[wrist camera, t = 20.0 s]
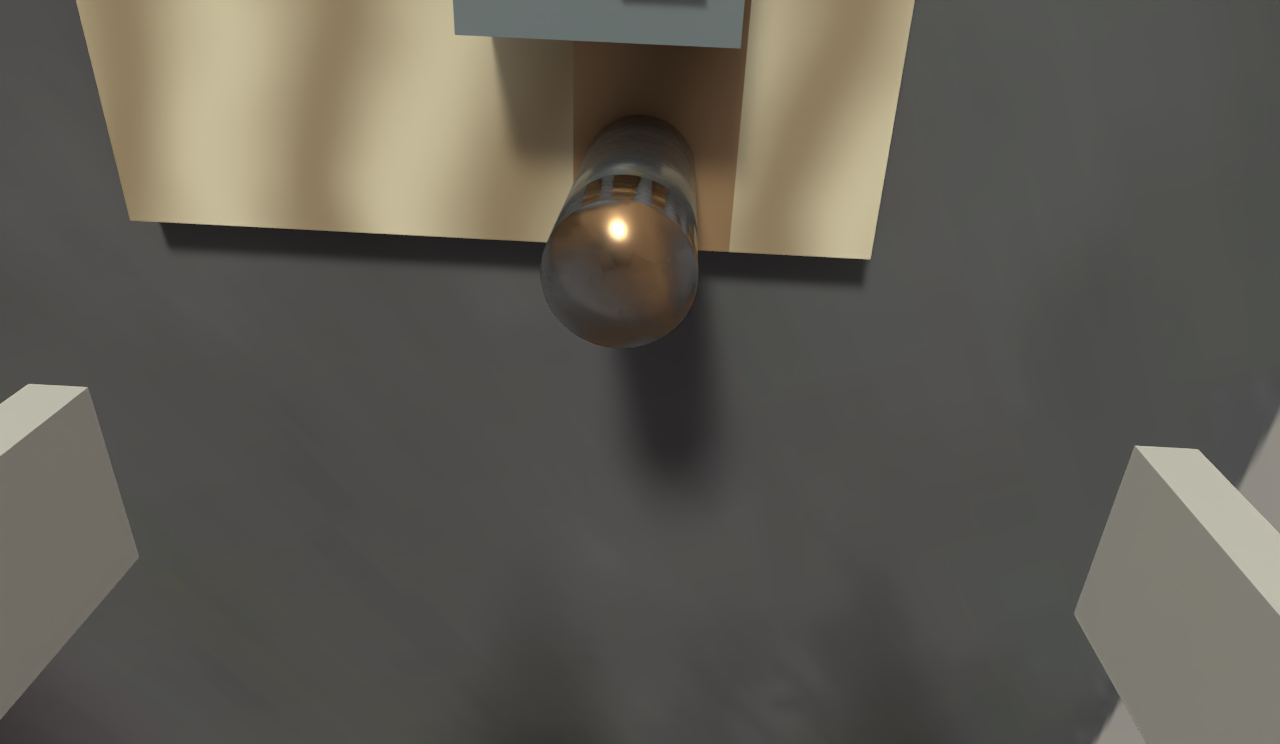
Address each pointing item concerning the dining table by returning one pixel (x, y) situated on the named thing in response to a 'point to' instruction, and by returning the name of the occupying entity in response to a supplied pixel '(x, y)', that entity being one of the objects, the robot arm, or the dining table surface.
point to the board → (490, 118)
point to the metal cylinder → (626, 237)
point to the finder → (606, 20)
